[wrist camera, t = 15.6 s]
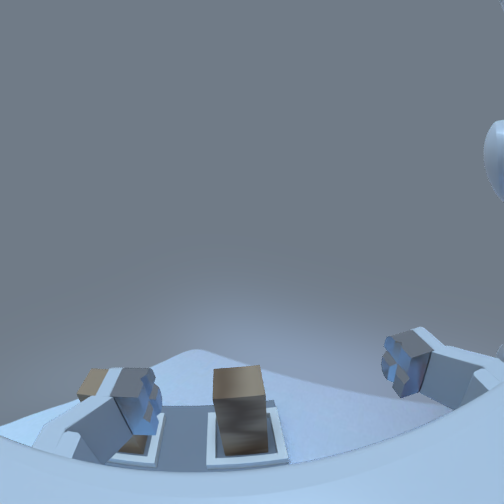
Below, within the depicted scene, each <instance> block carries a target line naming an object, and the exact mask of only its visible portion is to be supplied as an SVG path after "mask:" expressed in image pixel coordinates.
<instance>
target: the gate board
mask: <svg viewBox="0 0 504 504" xmlns="http://www.w3.org/2000/svg"><path fill="white" fill-rule="evenodd" d="M108 370H109V369H91V370H90V372H89V374H88V375H87V377H86V379H85V380H84V382H83V384H82V385H81V387H80V389H79V391H78V392H77V396H78V398H79V400H80V402H82V401H84V400H85V399H87V398H89V397H90V396H95V395H96V393H97V391H98V390H99V388H100V386H101V384H102V382H103V380H104V378H105V376H106V374H107V372H108ZM266 415H267V435H268V453H259V454H248V455H235V456H225V453H224V449H223V445H222V440H221V436H220V431H219V427H218V422H217V418H216V413H215V408H214V405H206V406H162V410H161V413H160V414H159V415H157V418H158V420H159V424H158V428H157V433H156V435H133V436H132V437H131V438H130V439H129V440H128V441H127V442H126V443H125V444H124V445H123V446H122V448H121V449H120V450H119V451H118V452H117V453H116V454H115V455H114V456H113V457H112V458H110V459H109V460H108V461H107V462H106V463H105V464H104V465H108V466H114V467H121V468H129V469H138V470H149V471H164V472H225V471H240V470H251V469H260V468H269V467H276V466H283V465H289V464H288V454H287V450H286V446H285V442H284V437H283V433H282V429H281V424H280V420H279V416H278V411H277V407H275V403H274V400H269V401H266Z"/></svg>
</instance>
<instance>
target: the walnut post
mask: <svg viewBox="0 0 504 504" xmlns="http://www.w3.org/2000/svg"><path fill="white" fill-rule="evenodd" d="M213 403H214V408H215V413H216V418H217V422H218V427H219V431H220V436H221V440H222V445H223V449H224V453H225V456H235V455H248V454H259V453H268V435H267V415H266V395H265V390H264V385H263V380H262V374H261V369H260V365H256V366H246V367H235V368H221V369H214V375H213Z"/></svg>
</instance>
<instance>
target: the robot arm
mask: <svg viewBox="0 0 504 504" xmlns="http://www.w3.org/2000/svg"><path fill="white" fill-rule="evenodd" d="M499 2H500V4H501V7H502V9H503V11H504V0H499ZM483 156H484V166H485V170H486V174H487V177H488V180H489V182H490V184H491V186H492V188H493V189H494V191H495V193H496V194H497V195H498V197H499V198H500V199H501V200H502V201H503V202H504V120H501V121H496V122H494V124H493V125H492V126H491V128H490V130H489V132H488V134H487V136H486V140H485V144H484V155H483ZM384 347H385V349H386V350H387V351H386V352H385V354H384V355H383V356H382V362H381V366H382V372H383V374H384V376H385V378H386V379H387V380H389V381H391V382H393V389H394V390H395V392H396V393H397V394H398V396H399V397H400V398H403V397H406V396H409V395H412V394H415V393H418V392H420V393H421V394H423V395H425V396H427V397H429V398H431V399H433V400H435V401H437V402H439V403H441V404H443V405H445V406H447V407H449V408H451V409H453V410H454V411H452V412H450V413H448V414H446V415H444V416H441V417H439V418H437V419H435V420H433V421H431V422H429V423H426V424H424V425H422V426H419V427H417V428H415V429H412V430H410V431H407V432H405V433H402V434H400V435H397V436H394V437H392V438H389V439H386V440H383V441H380V442H377V443H374V444H371V445H368V446H365V447H362V448H358V449H355V450H351V451H348V452H344V453H340V454H337V455H333V456H328V457H324V458H320V459H315V460H310V461H305V462H300V463H295V464H289V465H283V466H276V467H269V468H260V469H251V470H240V471H225V472H164V471H149V470H138V469H129V468H121V467H114V466H108V465H104V464H105V463H106V462H107V461H108V460H109V459H110V458H112V457H113V456H114V455H115V454H116V453H117V452H118V451H119V450H120V449H121V448H122V446H123V445H124V444H125V443H126V442H127V441H128V440H129V439H130V438H131V437H132V436H133V435H156V433H157V428H158V424H159V420H158V418H157V415H159V414H160V413H161V410H162V396H161V392H160V389H159V387H158V386H157V385H155V384H154V381H155V378H156V377H155V375H154V372H153V370H152V369H151V368H110V369H109V370H108V372H107V374H106V376H105V378H104V380H103V382H102V384H101V386H100V388H99V390H98V391H97V393H96V395H95V396H90V397H89V398H87V399H85V400H84V401H82V402H81V403H79V404H77V405H76V406H74V407H72V408H71V409H69V410H68V411H66V412H64V413H63V414H61V415H59V416H58V417H56V418H54V419H53V420H51V421H49V422H48V423H46V424H44V426H43V428H42V429H41V431H40V433H39V435H38V436H37V438H36V440H35V442H34V444H33V445H32V447H30V446H27V445H24V444H21V443H18V442H16V441H13V440H10V439H8V438H5V437H3V436H0V504H504V344H502V345H501V346H500V347H499V350H498V352H497V354H496V357H491V356H487V355H483V354H479V353H475V352H471V351H467V350H464V349H459V348H456V347H452V346H446V347H445V346H444V345H443V344H442V343H441V342H440V341H439V340H437V339H436V338H435V337H434V336H433V335H432V334H431V333H429V332H428V331H427V330H426V329H425V328H423V327H418V328H415V329H411V330H409V331H407V332H403V333H399V334H395V335H392V336H388V337H387V338H386V340H385V343H384Z"/></svg>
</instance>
